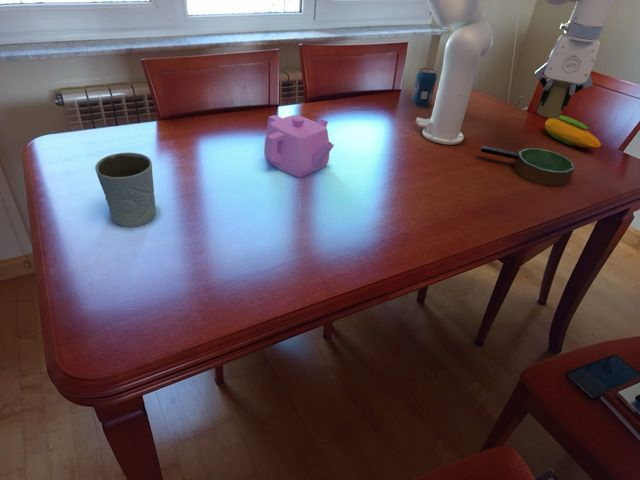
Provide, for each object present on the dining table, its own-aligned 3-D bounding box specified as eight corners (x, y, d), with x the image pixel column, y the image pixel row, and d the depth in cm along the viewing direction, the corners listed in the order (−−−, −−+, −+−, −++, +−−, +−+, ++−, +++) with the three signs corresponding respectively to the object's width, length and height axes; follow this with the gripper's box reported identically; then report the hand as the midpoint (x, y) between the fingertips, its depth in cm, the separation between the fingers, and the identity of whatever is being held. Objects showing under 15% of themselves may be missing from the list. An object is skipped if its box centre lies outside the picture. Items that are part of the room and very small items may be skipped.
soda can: (410, 100, 162) (417, 66, 155) (429, 102, 162) (436, 68, 155) (411, 106, 157) (418, 72, 149) (431, 108, 156) (439, 74, 149)
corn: (559, 107, 143) (615, 131, 129) (551, 129, 148) (604, 154, 134) (543, 111, 141) (598, 135, 127) (536, 133, 146) (588, 159, 132)
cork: (563, 114, 117) (581, 73, 111) (555, 120, 114) (574, 77, 107) (540, 107, 120) (557, 66, 114) (533, 112, 116) (550, 70, 110)
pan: (475, 169, 120) (480, 155, 117) (480, 150, 130) (484, 136, 128) (569, 190, 114) (576, 176, 111) (565, 168, 124) (572, 155, 122)
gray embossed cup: (137, 198, 96) (127, 147, 89) (171, 213, 92) (163, 162, 85) (97, 218, 89) (82, 165, 81) (132, 236, 85) (119, 182, 78)
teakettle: (265, 147, 121) (265, 103, 113) (326, 150, 122) (330, 107, 115) (262, 177, 107) (262, 130, 100) (330, 180, 109) (335, 133, 101)
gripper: (547, 28, 103) (518, 104, 115) (623, 41, 100) (586, 117, 111) (545, 23, 109) (518, 95, 120) (617, 34, 106) (583, 108, 117)
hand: (551, 105), depth 115 cm, fingers closed on cork, 4 cm apart
